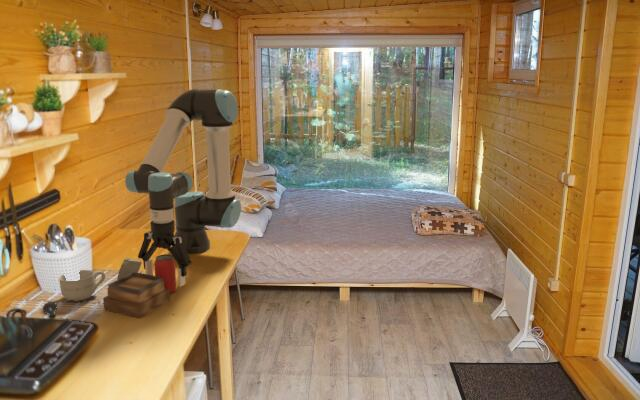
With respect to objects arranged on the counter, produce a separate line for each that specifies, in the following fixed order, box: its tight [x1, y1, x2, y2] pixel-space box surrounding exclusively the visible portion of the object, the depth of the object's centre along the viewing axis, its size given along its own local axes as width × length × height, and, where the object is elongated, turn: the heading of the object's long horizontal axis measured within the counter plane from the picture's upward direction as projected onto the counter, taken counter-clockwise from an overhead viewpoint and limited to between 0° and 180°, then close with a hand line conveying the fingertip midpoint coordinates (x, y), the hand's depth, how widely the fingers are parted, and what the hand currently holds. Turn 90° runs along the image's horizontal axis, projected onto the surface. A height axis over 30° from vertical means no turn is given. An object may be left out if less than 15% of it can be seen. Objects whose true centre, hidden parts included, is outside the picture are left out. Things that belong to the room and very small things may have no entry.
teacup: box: [58, 269, 106, 302], centre depth 180 cm, size 14×11×8 cm
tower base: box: [103, 272, 171, 319], centre depth 174 cm, size 14×14×8 cm
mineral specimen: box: [116, 257, 143, 280], centre depth 194 cm, size 7×9×8 cm
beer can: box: [154, 253, 177, 294], centre depth 185 cm, size 7×7×12 cm
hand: (165, 281), depth 186 cm, fingers open, 12 cm apart
